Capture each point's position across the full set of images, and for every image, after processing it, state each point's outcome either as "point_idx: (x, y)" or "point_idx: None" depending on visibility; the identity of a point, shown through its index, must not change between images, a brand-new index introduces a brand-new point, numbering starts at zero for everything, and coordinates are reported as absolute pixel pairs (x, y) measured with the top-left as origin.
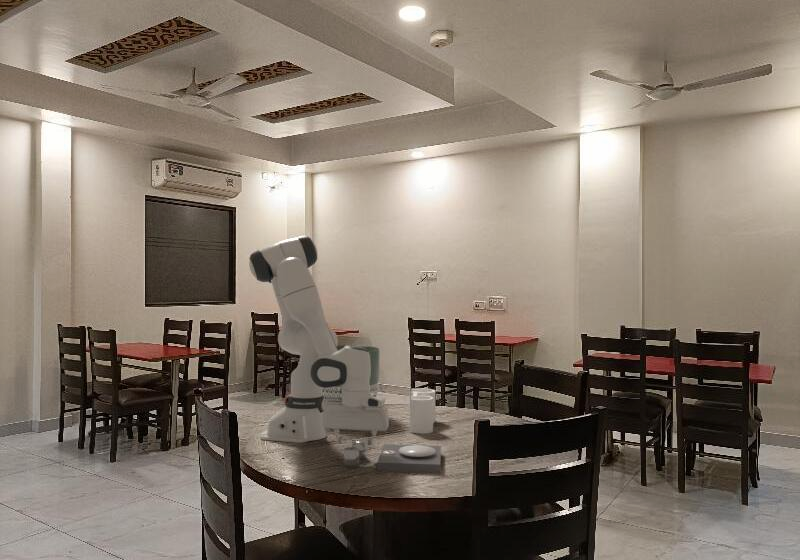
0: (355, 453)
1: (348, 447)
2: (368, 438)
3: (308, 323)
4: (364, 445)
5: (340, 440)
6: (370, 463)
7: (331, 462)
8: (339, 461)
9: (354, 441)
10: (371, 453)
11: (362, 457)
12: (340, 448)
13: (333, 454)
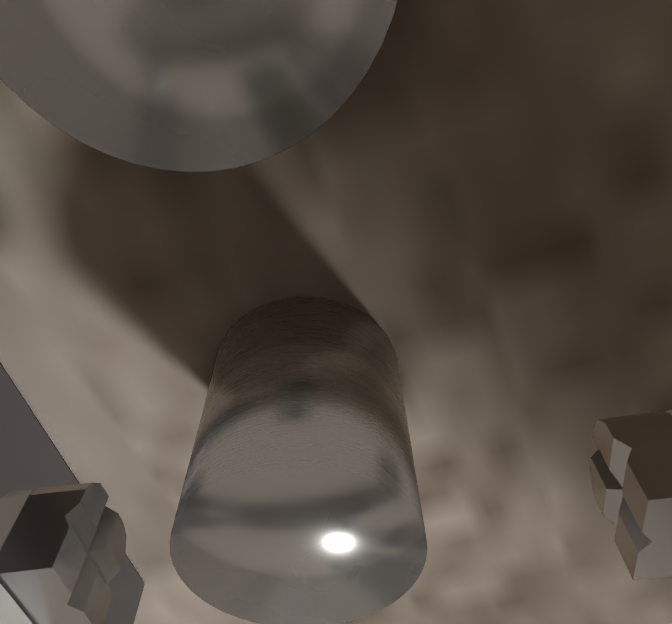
0: None
1: (335, 103)
2: (90, 621)
3: None
4: (185, 487)
5: (656, 456)
6: (39, 200)
7: (639, 48)
8: (519, 146)
9: (385, 543)
10: None
11: (231, 341)
12: (610, 574)
13: (659, 400)
